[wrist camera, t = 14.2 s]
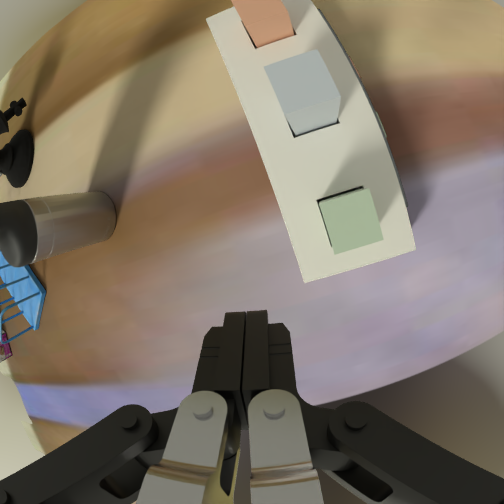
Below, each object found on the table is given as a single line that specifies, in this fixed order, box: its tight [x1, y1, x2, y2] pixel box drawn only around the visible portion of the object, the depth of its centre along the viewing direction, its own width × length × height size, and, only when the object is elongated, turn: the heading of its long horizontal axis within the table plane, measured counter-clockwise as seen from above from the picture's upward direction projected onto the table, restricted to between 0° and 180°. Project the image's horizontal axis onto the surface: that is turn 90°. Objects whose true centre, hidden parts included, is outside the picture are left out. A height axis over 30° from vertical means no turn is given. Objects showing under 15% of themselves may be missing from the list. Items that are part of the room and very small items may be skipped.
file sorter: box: [0, 250, 46, 344], centre depth 52 cm, size 25×17×15 cm
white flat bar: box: [206, 0, 416, 283], centre depth 31 cm, size 38×15×6 cm, turn 20°
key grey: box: [264, 49, 341, 136], centre depth 25 cm, size 5×5×10 cm
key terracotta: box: [231, 0, 294, 48], centre depth 26 cm, size 5×5×10 cm
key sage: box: [319, 188, 384, 255], centre depth 30 cm, size 5×5×10 cm
